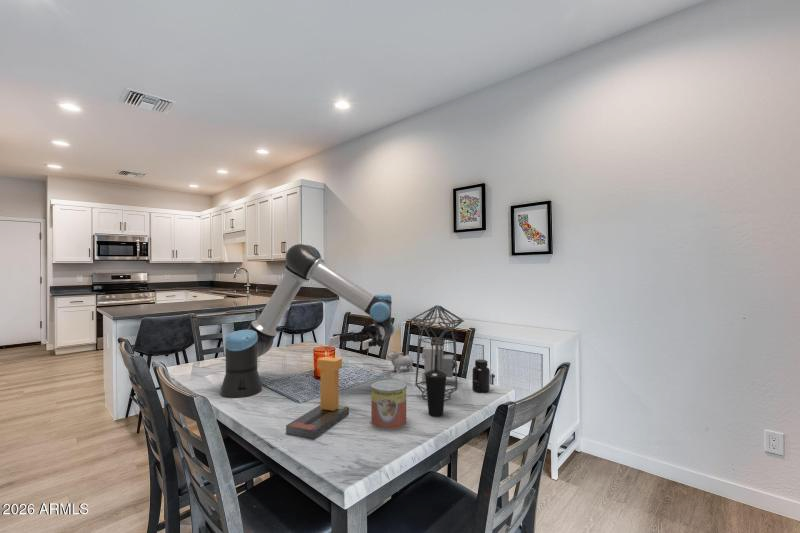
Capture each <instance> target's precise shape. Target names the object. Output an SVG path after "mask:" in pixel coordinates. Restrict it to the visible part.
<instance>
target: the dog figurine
mask: <svg viewBox="0 0 800 533" xmlns="http://www.w3.org/2000/svg"><path fill="white" fill-rule="evenodd" d="M386 357H387V359H389V360H391V364H392V366H393V372H396V373H395V374H399V373H400V371H401V367H406V368H405V371H409V373H412V372H413V365H414V364H413V363H414V359H413V357H412V355H411V354H406V355H404V352H403V351H399V352H398V351H397V350H396V349H391V352H389V353H387V354H386Z"/></svg>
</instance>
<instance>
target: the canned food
mask: <svg viewBox="0 0 800 533" xmlns="http://www.w3.org/2000/svg"><path fill="white" fill-rule="evenodd" d="M407 385H408V384H407V383H406V382H404V381H402V380H398V379H381V380H377V381H374V382H372V383H371V385H370V387H371V389H370V390H371V398H370V399H371V404H370V405H371V421H370V424H371V426H372V427H374V428H376V429H379V430H382V431H392V430H398V429H402V428H403V427H405V426H406V425H407V422H408V421H407Z"/></svg>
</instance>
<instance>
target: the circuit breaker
mask: <svg viewBox="0 0 800 533" xmlns="http://www.w3.org/2000/svg"><path fill="white" fill-rule="evenodd" d="M435 347H436V345H433V368H432V370H433V369H434V365H435ZM431 354H432V344H431V345H430V344H429V345H424V346H423V348H422V353H421V355H422V356H421V358H422V359H423V360H424V367H423V368H424V370H423V371H422V373H421V375H422V376H421V378H422V381H421V382H424V381H426V377H425V372H427V371H429V370H431ZM436 354H437V353H436ZM438 365H439V370H440V345H438ZM456 365H457V366H458V363H457V362H456ZM442 371H444V372H446V373H447V377H446V378H453V375H454V373H455V363H454V354H444V346H443V345H442ZM421 385H425V386H426V383H421Z"/></svg>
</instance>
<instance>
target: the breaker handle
mask: <svg viewBox="0 0 800 533" xmlns="http://www.w3.org/2000/svg"><path fill="white" fill-rule="evenodd" d="M316 365H317V366H316V369H318V370H320V405H321V409H326V410H332V411H334V410H336V409H337V408H339V403H340V402H339V401H340V400H339V399H340V398H339V393H340V392H339V391H340V390H339V388H340V386H339V383H340V382H339V380H340V379H339V377H340V376H339V370H340V369H342V368H343V358H340V357H338V358H337V357H331V356H330V357H329V356H328V357H327V356H323V357H320V358H318V359H316Z"/></svg>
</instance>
